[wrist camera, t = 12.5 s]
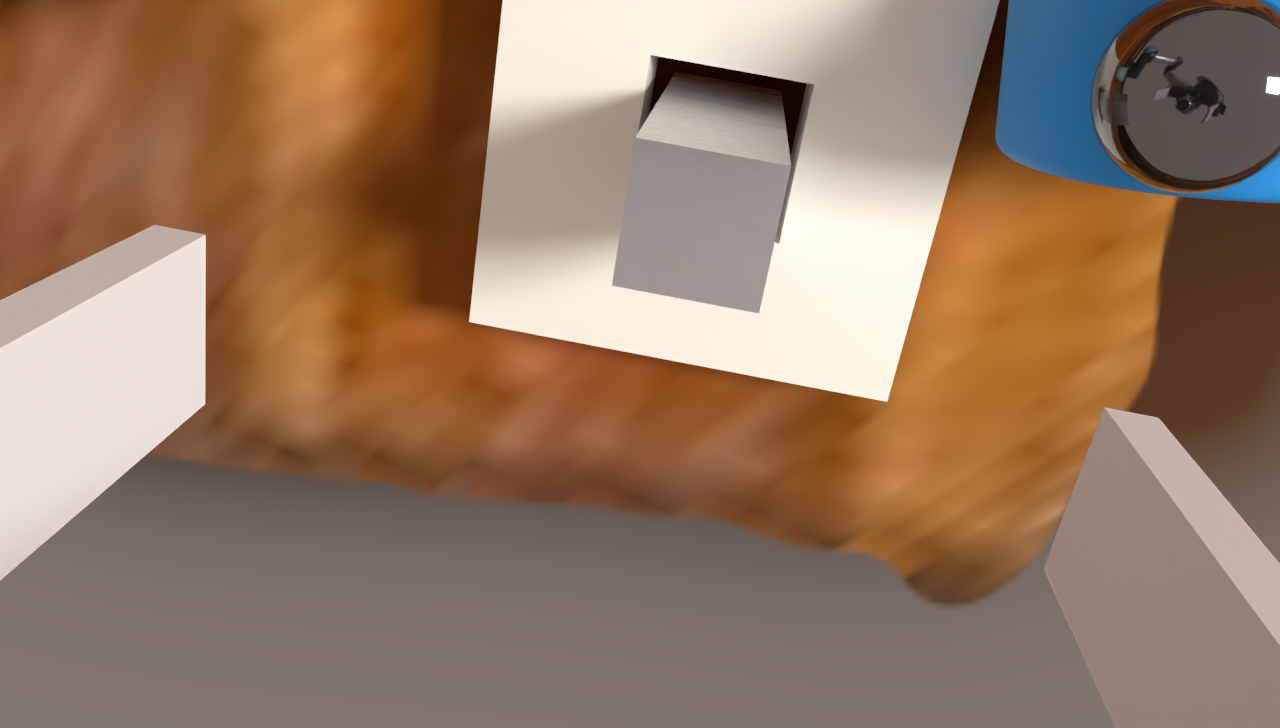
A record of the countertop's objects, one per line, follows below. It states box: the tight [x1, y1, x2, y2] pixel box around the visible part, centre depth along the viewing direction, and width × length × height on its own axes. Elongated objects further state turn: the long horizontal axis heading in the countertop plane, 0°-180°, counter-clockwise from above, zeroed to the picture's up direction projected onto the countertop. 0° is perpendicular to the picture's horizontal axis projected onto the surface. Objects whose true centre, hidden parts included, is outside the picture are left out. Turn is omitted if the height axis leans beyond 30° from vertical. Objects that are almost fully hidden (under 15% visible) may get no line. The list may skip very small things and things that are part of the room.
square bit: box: [612, 72, 791, 313], centre depth 34 cm, size 4×4×14 cm
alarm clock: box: [995, 0, 1280, 203], centre depth 30 cm, size 13×6×15 cm, turn 91°
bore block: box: [469, 0, 1000, 402], centre depth 38 cm, size 16×16×4 cm
